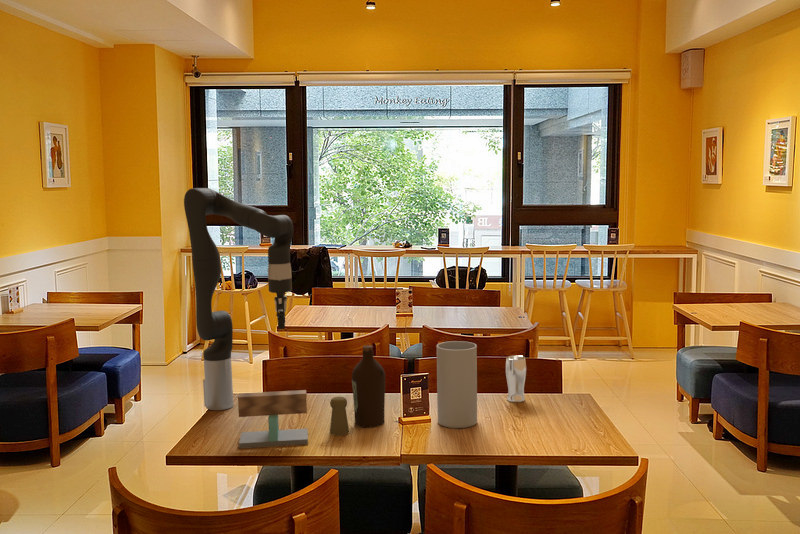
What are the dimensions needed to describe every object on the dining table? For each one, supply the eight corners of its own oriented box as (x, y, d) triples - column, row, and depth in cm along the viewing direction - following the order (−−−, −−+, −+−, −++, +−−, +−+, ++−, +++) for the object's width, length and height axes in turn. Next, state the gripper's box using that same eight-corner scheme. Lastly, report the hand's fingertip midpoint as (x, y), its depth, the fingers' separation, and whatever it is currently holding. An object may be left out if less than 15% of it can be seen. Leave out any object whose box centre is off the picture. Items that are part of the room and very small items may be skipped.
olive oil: (386, 417, 258) (384, 342, 254) (386, 427, 247) (384, 349, 244) (353, 418, 257) (351, 343, 254) (352, 428, 247) (350, 350, 244)
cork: (334, 436, 240) (333, 401, 239) (326, 430, 245) (325, 396, 244) (352, 433, 243) (351, 398, 241) (344, 427, 248) (343, 393, 247)
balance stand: (239, 448, 231) (237, 420, 230) (241, 437, 241) (240, 410, 240) (307, 444, 234) (306, 416, 233) (307, 433, 244) (306, 406, 242)
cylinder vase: (450, 414, 259) (450, 339, 256) (484, 420, 252) (483, 344, 249) (430, 424, 249) (428, 347, 246) (464, 431, 242) (463, 351, 239)
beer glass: (529, 398, 275) (529, 356, 273) (521, 403, 269) (521, 360, 267) (510, 396, 279) (510, 354, 277) (502, 401, 273) (502, 358, 271)
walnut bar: (238, 417, 233) (237, 397, 232) (239, 413, 237) (238, 393, 236) (306, 413, 236) (306, 393, 235) (306, 409, 240) (306, 389, 239)
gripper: (268, 274, 262) (270, 322, 264) (267, 280, 248) (269, 331, 250) (291, 273, 263) (293, 321, 265) (291, 279, 249) (293, 330, 251)
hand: (281, 326), depth 258 cm, fingers open, 8 cm apart
